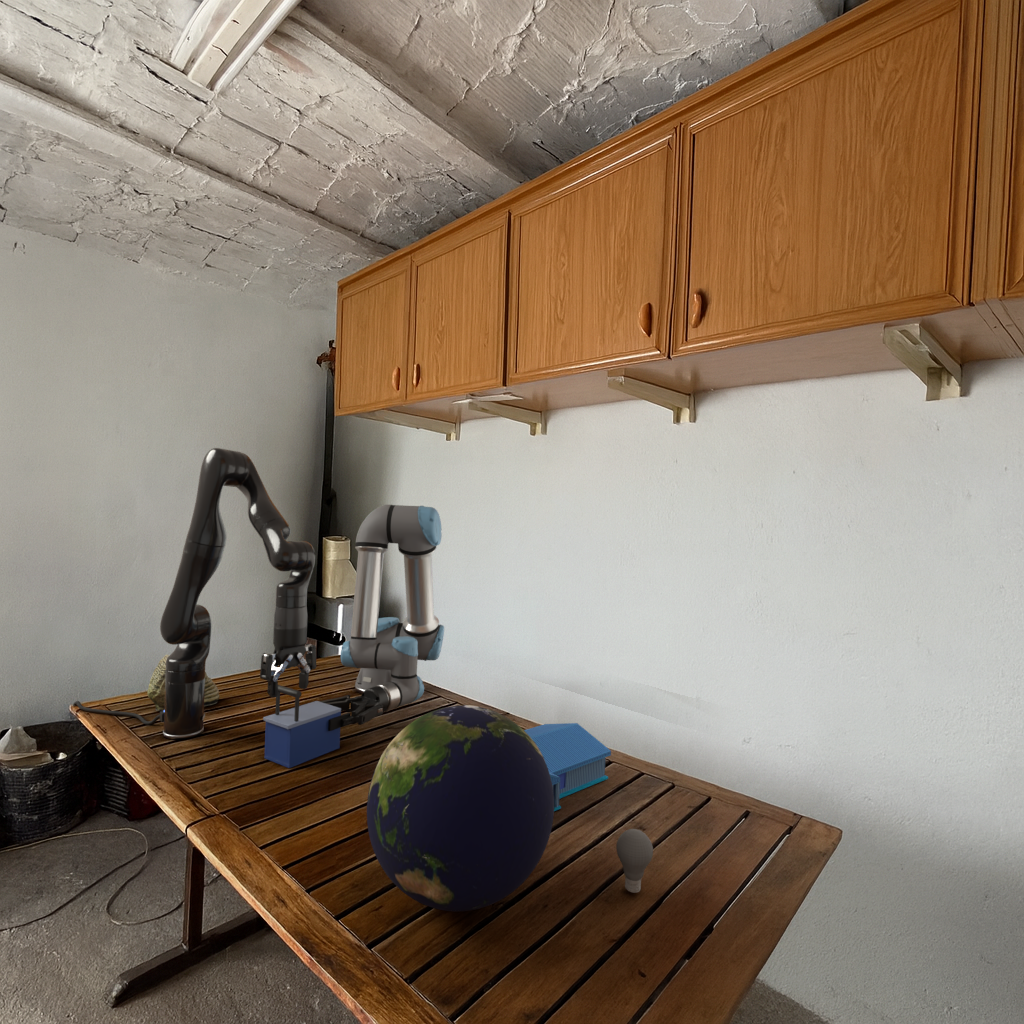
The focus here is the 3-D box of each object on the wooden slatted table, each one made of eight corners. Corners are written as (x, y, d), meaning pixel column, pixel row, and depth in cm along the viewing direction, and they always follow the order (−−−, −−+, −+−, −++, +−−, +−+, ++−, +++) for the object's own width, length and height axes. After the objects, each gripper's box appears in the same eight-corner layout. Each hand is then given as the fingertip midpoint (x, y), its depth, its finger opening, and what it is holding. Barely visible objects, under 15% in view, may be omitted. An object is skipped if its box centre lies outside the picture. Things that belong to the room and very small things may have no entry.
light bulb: (610, 879, 108) (613, 822, 108) (644, 879, 109) (647, 822, 109) (619, 902, 102) (622, 840, 102) (655, 901, 103) (658, 840, 103)
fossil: (144, 707, 182) (145, 655, 182) (212, 696, 194) (213, 647, 194) (151, 716, 175) (153, 662, 175) (221, 703, 188) (223, 653, 188)
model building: (490, 838, 120) (492, 786, 120) (417, 791, 138) (419, 745, 138) (619, 783, 146) (621, 740, 146) (544, 749, 164) (545, 711, 164)
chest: (289, 768, 147) (290, 728, 147) (264, 758, 152) (265, 719, 152) (339, 748, 160) (341, 711, 159) (315, 739, 165) (316, 704, 164)
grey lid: (288, 729, 146) (289, 695, 146) (263, 720, 151) (264, 687, 151) (341, 711, 159) (342, 680, 159) (316, 703, 164) (317, 673, 164)
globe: (322, 922, 94) (330, 722, 94) (423, 829, 122) (430, 674, 122) (507, 988, 83) (517, 762, 83) (572, 869, 111) (580, 699, 110)
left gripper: (275, 631, 143) (273, 703, 143) (324, 622, 155) (322, 688, 155) (254, 627, 147) (252, 696, 147) (304, 618, 159) (302, 682, 159)
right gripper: (408, 721, 172) (345, 746, 153) (351, 704, 184) (286, 725, 165) (409, 693, 172) (347, 715, 153) (352, 678, 183) (288, 697, 164)
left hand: (288, 692), depth 151 cm, fingers open, 8 cm apart
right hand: (315, 720), depth 159 cm, fingers closed on chest, 9 cm apart
